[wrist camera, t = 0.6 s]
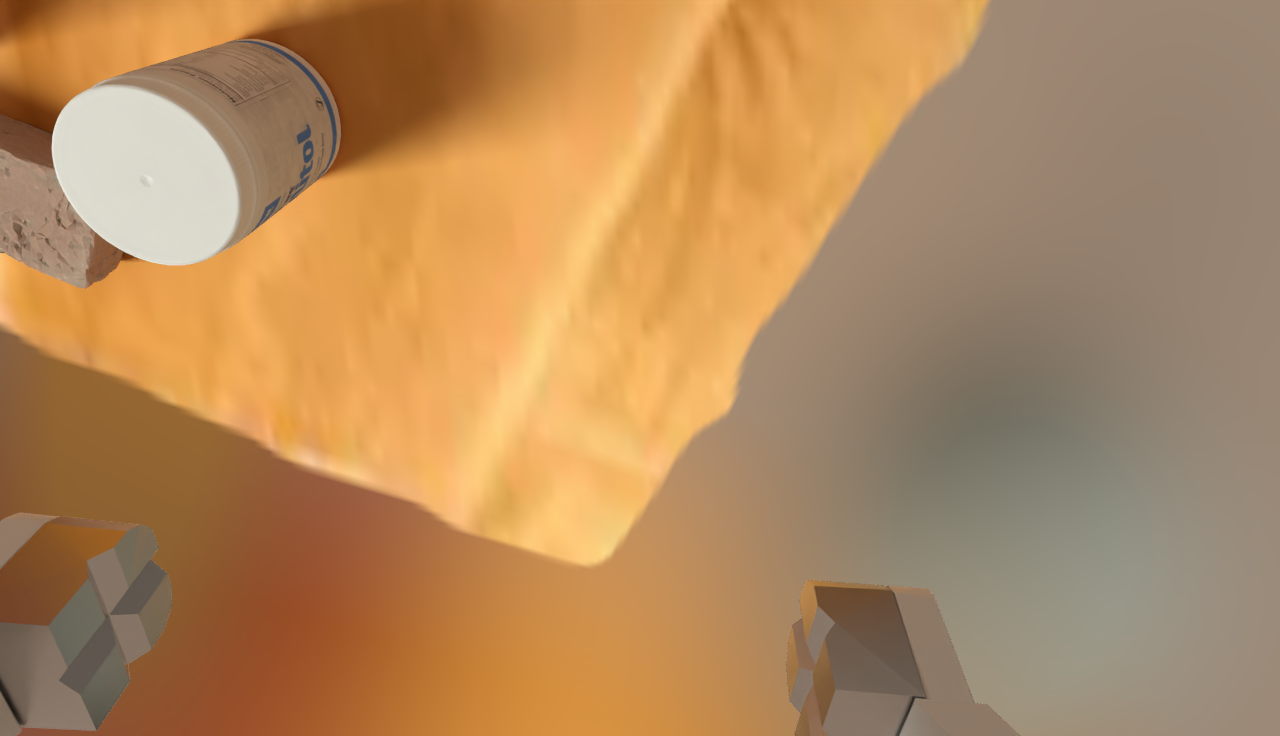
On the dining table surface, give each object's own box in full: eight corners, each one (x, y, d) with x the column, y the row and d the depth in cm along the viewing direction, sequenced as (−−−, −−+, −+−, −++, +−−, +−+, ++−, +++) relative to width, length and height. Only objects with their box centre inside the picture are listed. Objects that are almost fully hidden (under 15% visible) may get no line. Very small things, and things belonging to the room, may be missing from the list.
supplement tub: (337, 201, 55) (240, 294, 42) (197, 160, 54) (53, 243, 41) (354, 61, 50) (249, 119, 37) (199, 11, 49) (37, 54, 36)
